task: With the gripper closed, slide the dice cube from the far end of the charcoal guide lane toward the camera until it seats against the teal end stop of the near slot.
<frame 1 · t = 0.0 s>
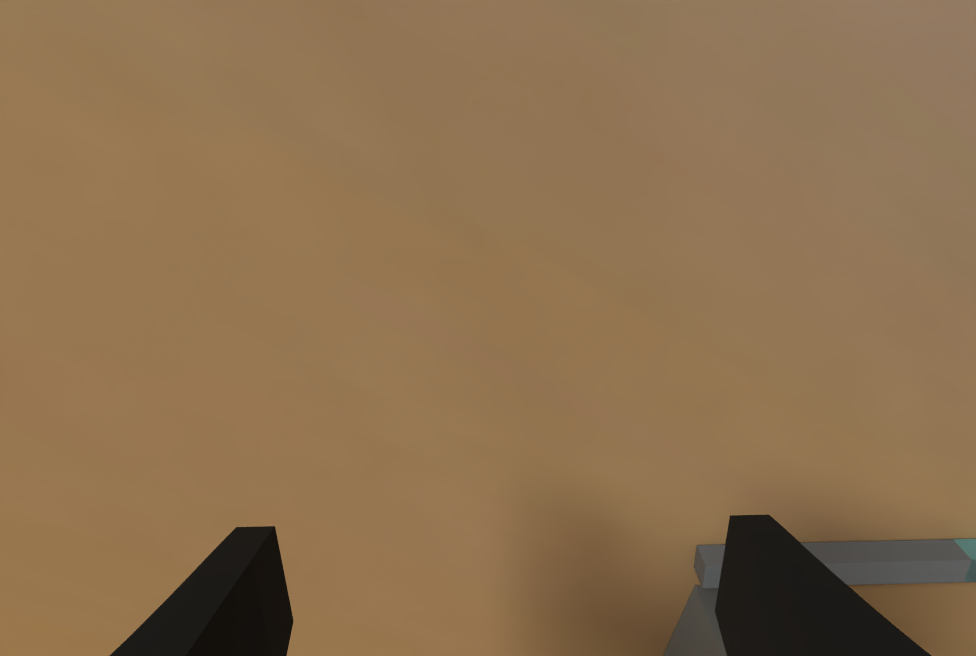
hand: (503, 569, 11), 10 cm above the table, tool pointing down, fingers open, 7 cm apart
guide lane: (892, 641, 26), on the table
dice cube: (732, 636, 26), on the table
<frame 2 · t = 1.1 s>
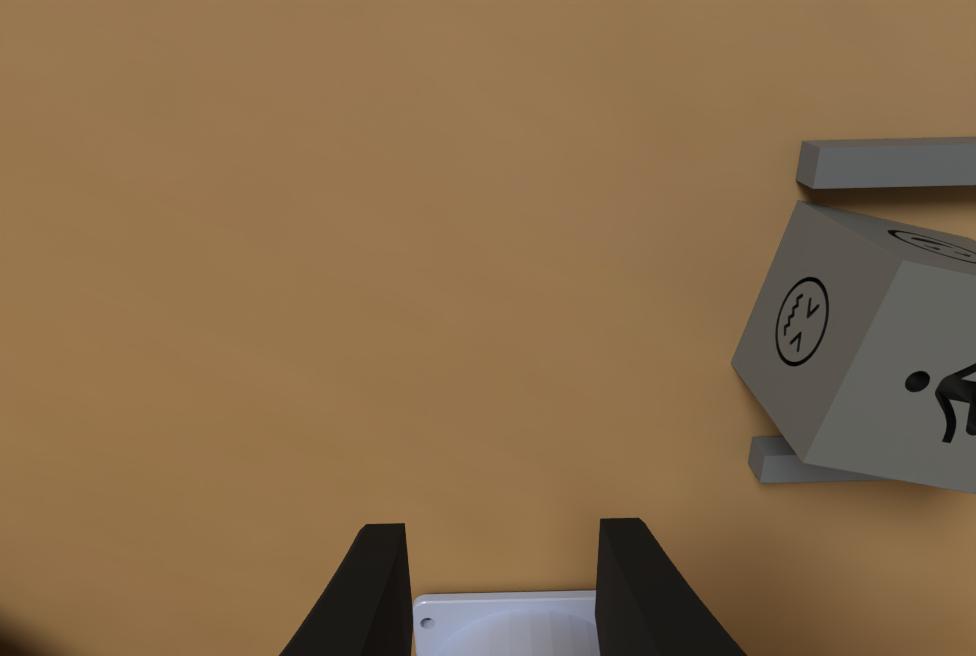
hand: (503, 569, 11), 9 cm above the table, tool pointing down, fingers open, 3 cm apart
dice cube: (840, 299, 19), on the table
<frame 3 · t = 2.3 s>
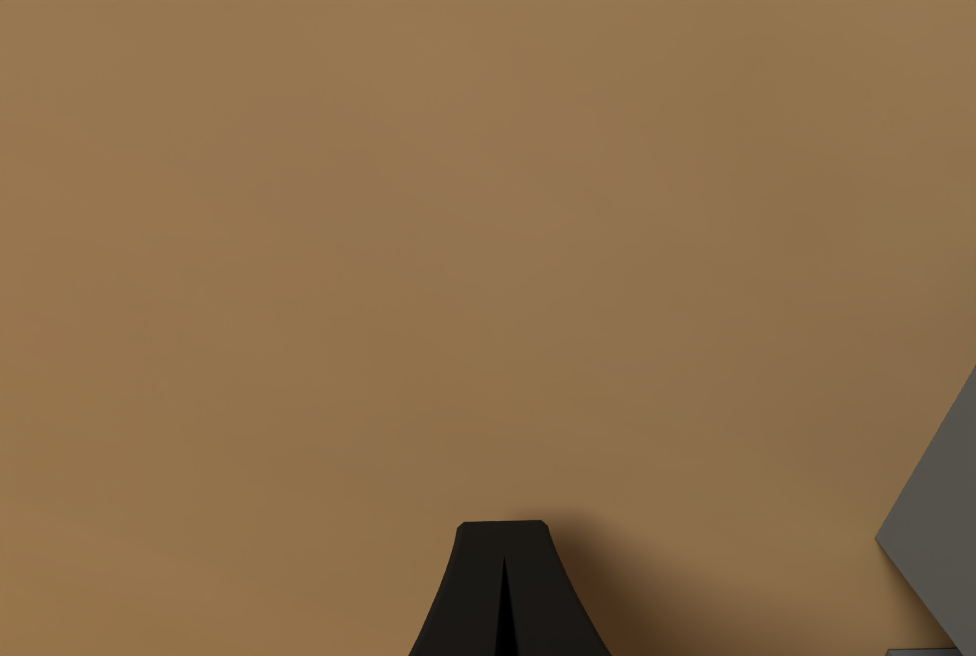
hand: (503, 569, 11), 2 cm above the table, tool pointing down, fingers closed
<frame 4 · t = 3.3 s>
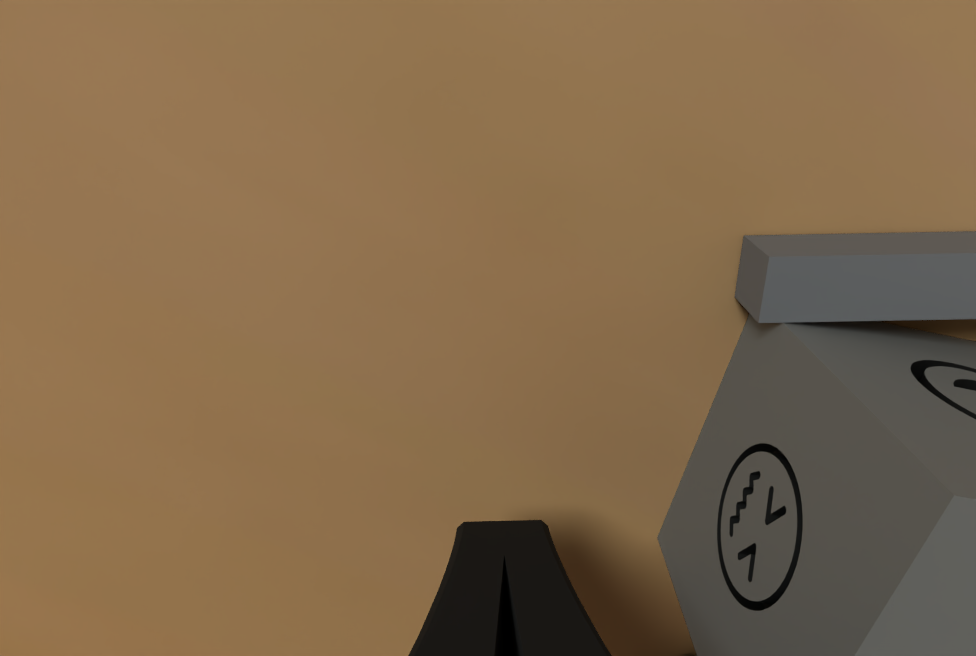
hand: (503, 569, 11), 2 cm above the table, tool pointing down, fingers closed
dice cube: (829, 443, 12), on the table
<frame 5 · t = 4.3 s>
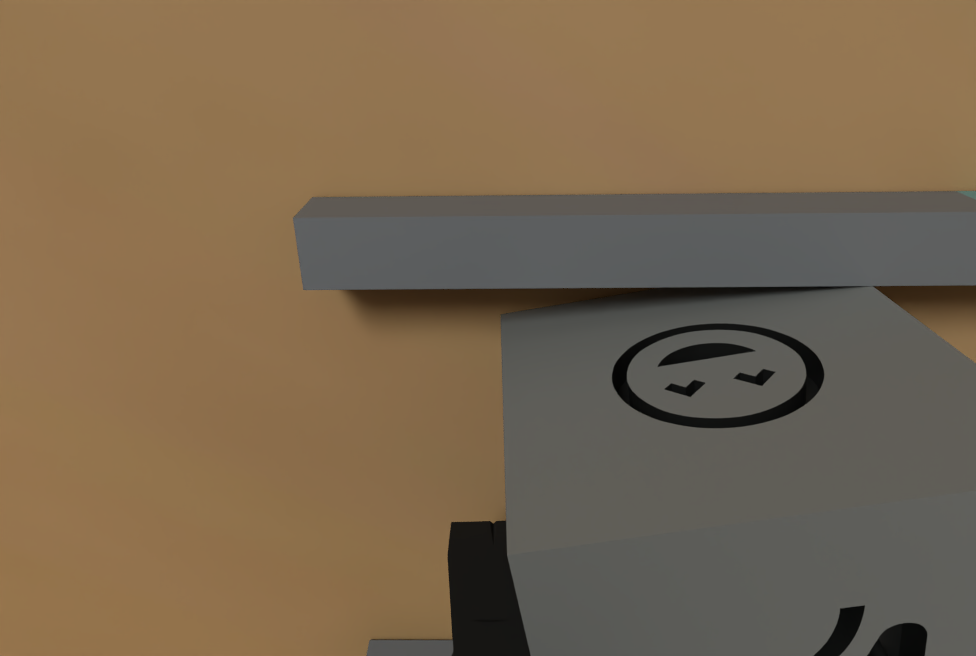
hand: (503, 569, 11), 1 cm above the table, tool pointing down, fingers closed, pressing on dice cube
guide lane: (812, 479, 12), on the table
dice cube: (672, 416, 11), on the table, touching gripper, guide lane
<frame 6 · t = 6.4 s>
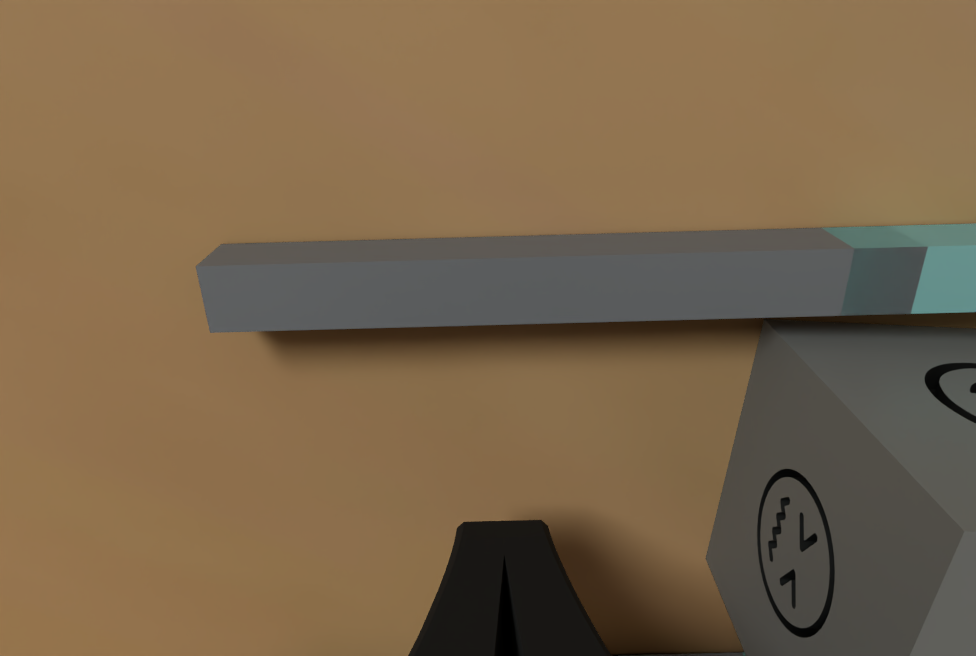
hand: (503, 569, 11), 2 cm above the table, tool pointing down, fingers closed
guide lane: (715, 497, 12), on the table
dice cube: (864, 446, 12), on the table
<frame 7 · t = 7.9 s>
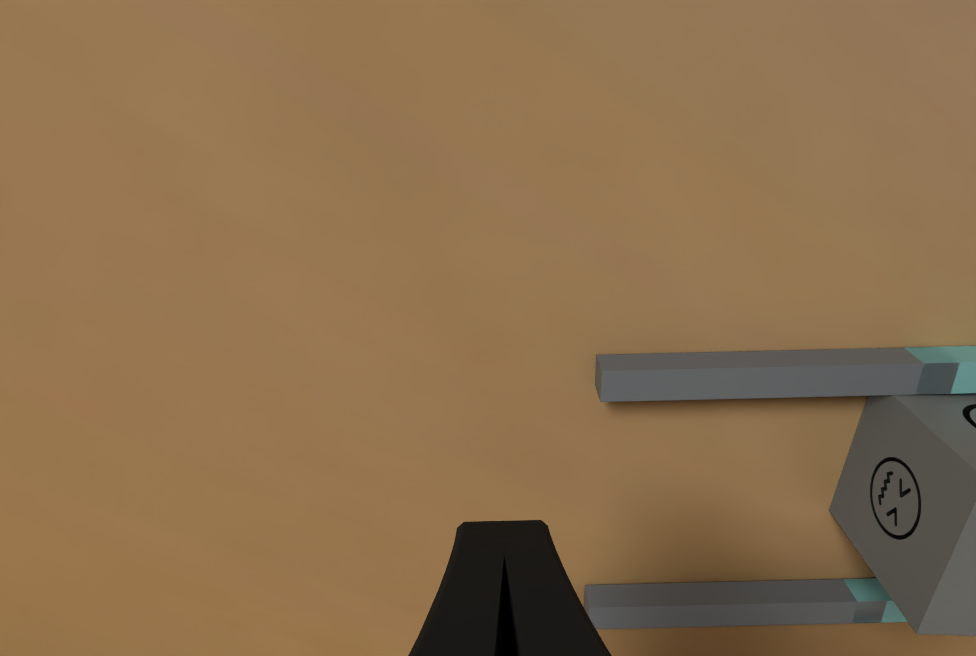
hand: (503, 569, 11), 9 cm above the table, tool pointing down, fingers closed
guide lane: (836, 486, 22), on the table
dice cube: (922, 445, 22), on the table
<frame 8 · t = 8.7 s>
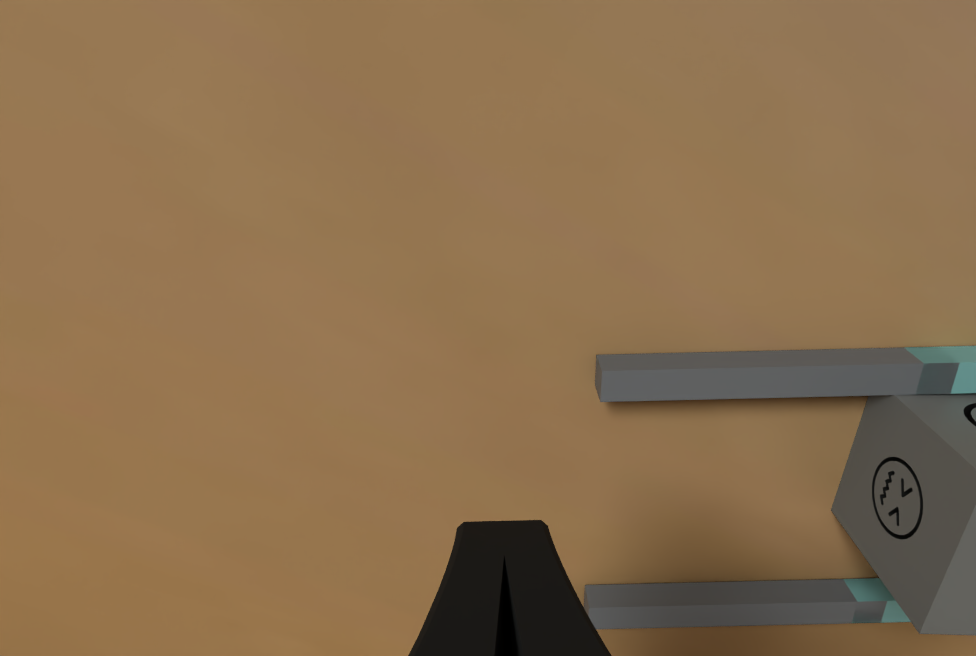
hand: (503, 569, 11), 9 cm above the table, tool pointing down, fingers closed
guide lane: (836, 486, 22), on the table
dice cube: (924, 445, 22), on the table
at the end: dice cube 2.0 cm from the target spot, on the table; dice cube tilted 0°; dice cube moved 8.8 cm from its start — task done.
